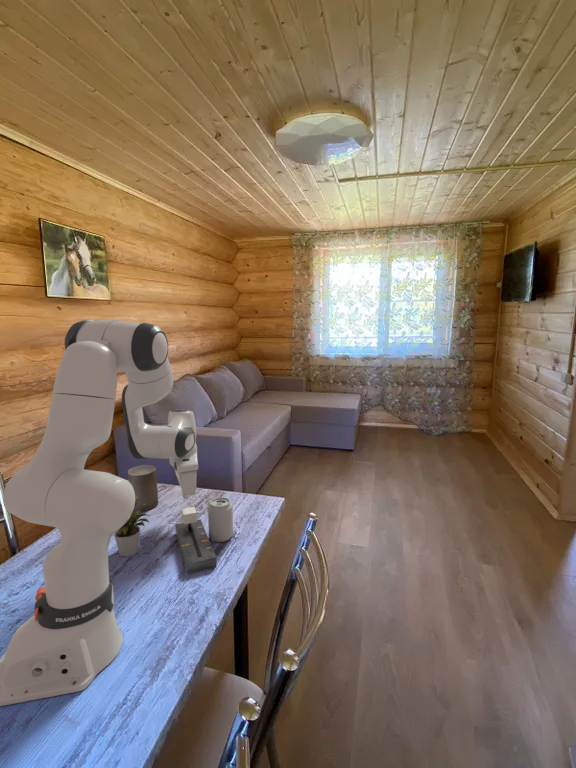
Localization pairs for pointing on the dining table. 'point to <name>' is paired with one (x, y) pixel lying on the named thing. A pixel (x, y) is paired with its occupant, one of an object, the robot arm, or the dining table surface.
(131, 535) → the house plant
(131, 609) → the dining table surface
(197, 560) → the fader panel
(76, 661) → the robot arm
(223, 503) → the can
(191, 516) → the fader knob
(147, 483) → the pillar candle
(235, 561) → the dining table surface
